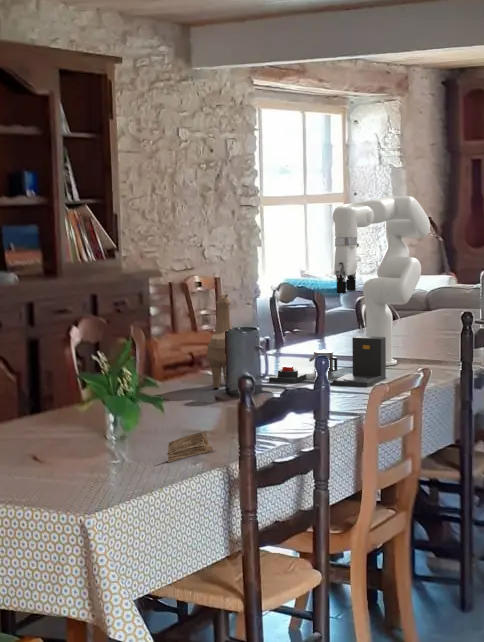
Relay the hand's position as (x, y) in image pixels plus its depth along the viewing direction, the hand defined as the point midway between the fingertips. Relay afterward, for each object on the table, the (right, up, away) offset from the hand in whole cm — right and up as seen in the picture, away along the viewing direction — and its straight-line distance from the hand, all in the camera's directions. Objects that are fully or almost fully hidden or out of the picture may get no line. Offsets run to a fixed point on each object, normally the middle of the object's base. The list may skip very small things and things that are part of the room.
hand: (346, 292), depth 405 cm
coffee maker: (+2, -30, -15) cm, 34 cm away
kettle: (-8, -29, -6) cm, 31 cm away
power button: (-21, -27, -11) cm, 36 cm away
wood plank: (-53, -42, -121) cm, 138 cm away
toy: (-43, -32, -21) cm, 57 cm away
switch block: (-21, -30, -11) cm, 38 cm away
